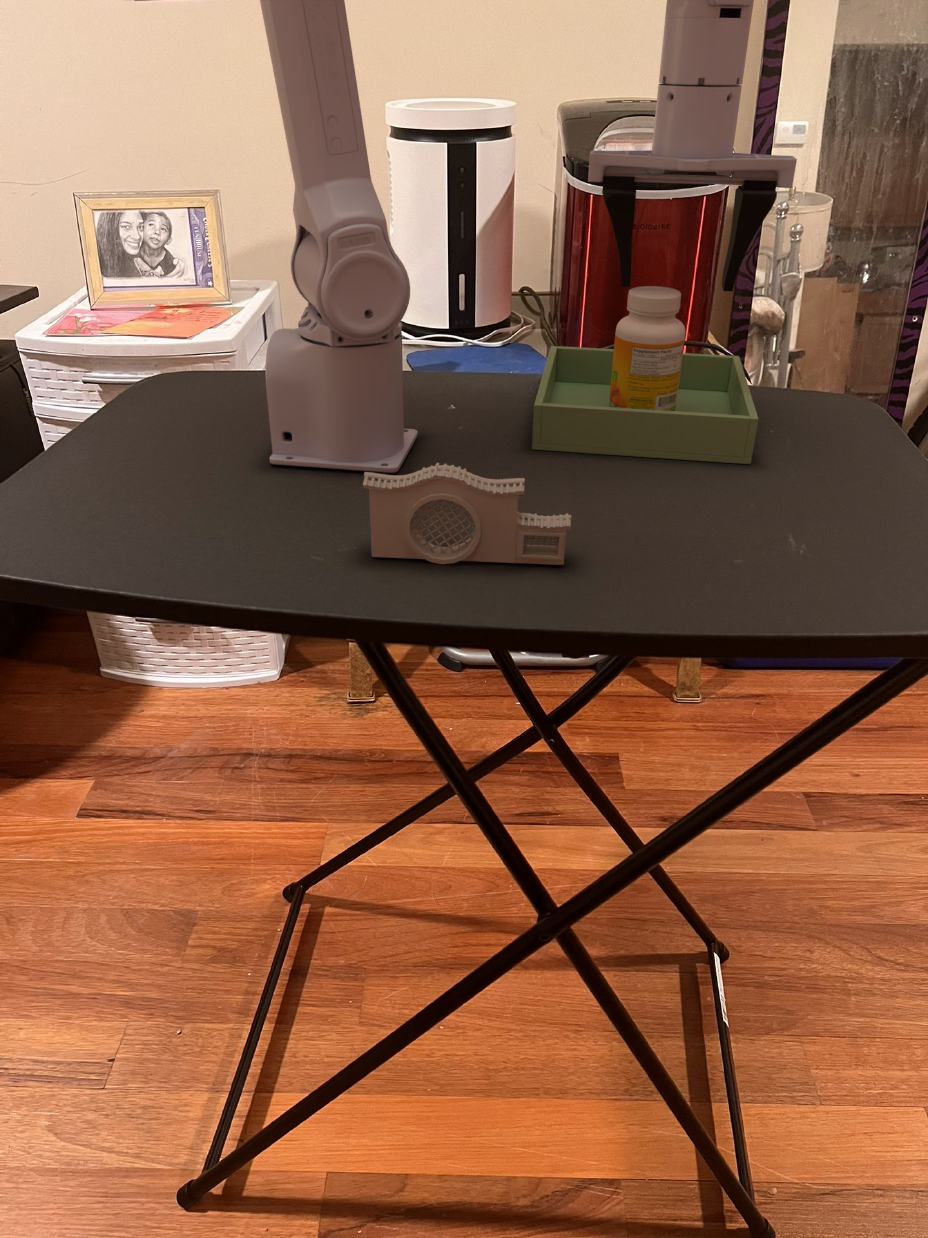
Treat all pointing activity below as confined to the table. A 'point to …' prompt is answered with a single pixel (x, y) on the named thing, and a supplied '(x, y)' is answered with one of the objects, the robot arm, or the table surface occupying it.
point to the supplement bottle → (648, 351)
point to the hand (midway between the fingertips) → (675, 286)
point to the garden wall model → (480, 497)
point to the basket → (645, 410)
